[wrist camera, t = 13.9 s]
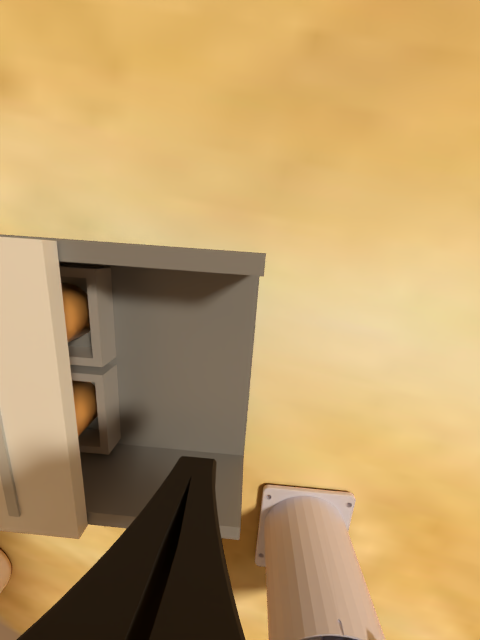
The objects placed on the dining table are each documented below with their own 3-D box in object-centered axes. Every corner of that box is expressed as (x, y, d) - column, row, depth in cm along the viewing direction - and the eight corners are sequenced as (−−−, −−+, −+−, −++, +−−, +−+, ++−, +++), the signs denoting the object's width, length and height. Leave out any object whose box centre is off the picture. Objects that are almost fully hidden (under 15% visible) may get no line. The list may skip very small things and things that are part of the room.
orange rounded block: (104, 423, 20) (58, 475, 15) (56, 419, 20) (-4, 469, 16) (101, 379, 19) (50, 420, 14) (50, 374, 19) (-16, 414, 15)
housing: (243, 456, 22) (239, 540, 15) (41, 437, 22) (-44, 510, 16) (260, 254, 17) (265, 253, 11) (10, 236, 18) (-124, 225, 12)
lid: (87, 524, 15) (77, 541, 14) (-25, 513, 16) (-42, 528, 15) (56, 240, 11) (39, 239, 10) (-98, 229, 11) (-128, 227, 10)
